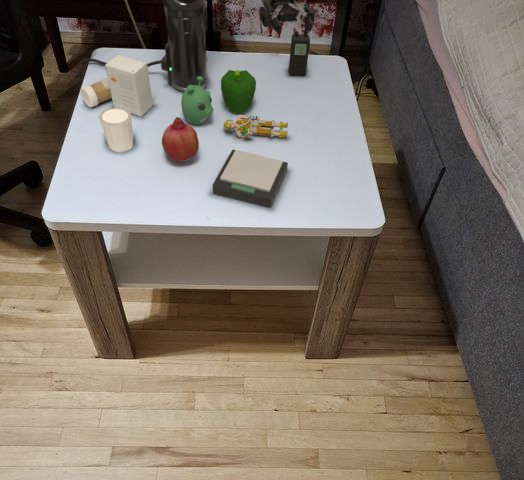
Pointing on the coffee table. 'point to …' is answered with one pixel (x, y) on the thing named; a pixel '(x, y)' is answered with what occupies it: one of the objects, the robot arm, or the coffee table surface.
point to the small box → (129, 84)
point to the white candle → (117, 128)
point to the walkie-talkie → (299, 51)
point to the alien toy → (196, 103)
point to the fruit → (180, 141)
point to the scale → (250, 178)
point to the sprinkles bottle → (96, 93)
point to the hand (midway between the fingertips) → (295, 28)
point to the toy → (254, 127)
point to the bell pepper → (238, 90)
